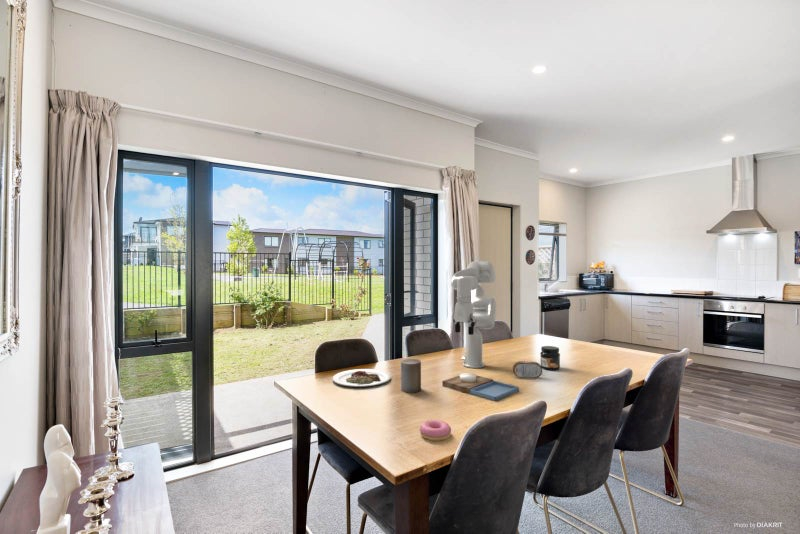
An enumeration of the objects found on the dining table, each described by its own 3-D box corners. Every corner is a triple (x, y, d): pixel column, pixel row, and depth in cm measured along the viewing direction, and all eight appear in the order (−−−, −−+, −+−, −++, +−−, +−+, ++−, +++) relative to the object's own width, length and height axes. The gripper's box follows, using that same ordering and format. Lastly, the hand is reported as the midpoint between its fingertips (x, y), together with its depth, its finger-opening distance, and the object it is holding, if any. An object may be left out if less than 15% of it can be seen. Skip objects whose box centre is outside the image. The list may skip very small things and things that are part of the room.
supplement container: (541, 370, 219) (541, 349, 219) (539, 365, 229) (539, 345, 229) (561, 371, 216) (561, 350, 216) (558, 366, 227) (558, 346, 227)
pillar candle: (424, 388, 188) (424, 357, 188) (416, 394, 180) (416, 361, 179) (405, 385, 192) (405, 355, 192) (397, 391, 184) (397, 359, 183)
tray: (469, 393, 179) (469, 389, 179) (493, 384, 193) (493, 380, 193) (495, 401, 169) (495, 396, 169) (518, 391, 183) (518, 386, 183)
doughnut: (418, 429, 141) (418, 418, 141) (448, 428, 142) (448, 417, 142) (421, 443, 130) (421, 430, 130) (454, 442, 131) (454, 430, 131)
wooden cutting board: (442, 386, 191) (442, 380, 191) (467, 377, 205) (467, 373, 205) (469, 393, 180) (469, 388, 180) (493, 384, 193) (493, 379, 193)
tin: (541, 377, 206) (541, 361, 206) (543, 379, 203) (543, 362, 203) (512, 376, 207) (512, 360, 207) (513, 378, 204) (513, 362, 204)
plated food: (354, 393, 181) (354, 386, 181) (321, 379, 204) (321, 373, 204) (402, 381, 201) (402, 374, 201) (367, 369, 223) (367, 363, 223)
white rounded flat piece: (456, 380, 192) (456, 375, 192) (466, 376, 198) (466, 372, 198) (469, 383, 187) (469, 378, 187) (479, 380, 192) (479, 375, 192)
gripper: (447, 299, 207) (447, 331, 206) (471, 301, 192) (470, 336, 192) (458, 299, 211) (458, 330, 210) (481, 300, 197) (481, 334, 196)
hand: (464, 333), depth 201 cm, fingers open, 9 cm apart
